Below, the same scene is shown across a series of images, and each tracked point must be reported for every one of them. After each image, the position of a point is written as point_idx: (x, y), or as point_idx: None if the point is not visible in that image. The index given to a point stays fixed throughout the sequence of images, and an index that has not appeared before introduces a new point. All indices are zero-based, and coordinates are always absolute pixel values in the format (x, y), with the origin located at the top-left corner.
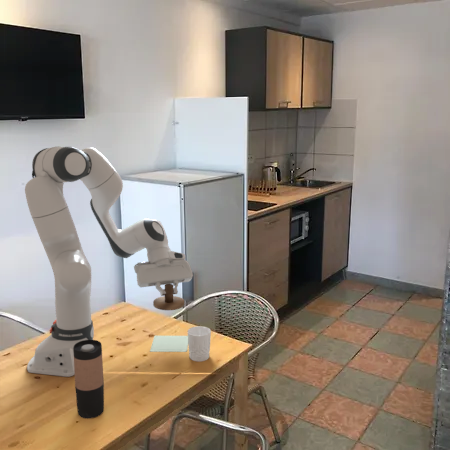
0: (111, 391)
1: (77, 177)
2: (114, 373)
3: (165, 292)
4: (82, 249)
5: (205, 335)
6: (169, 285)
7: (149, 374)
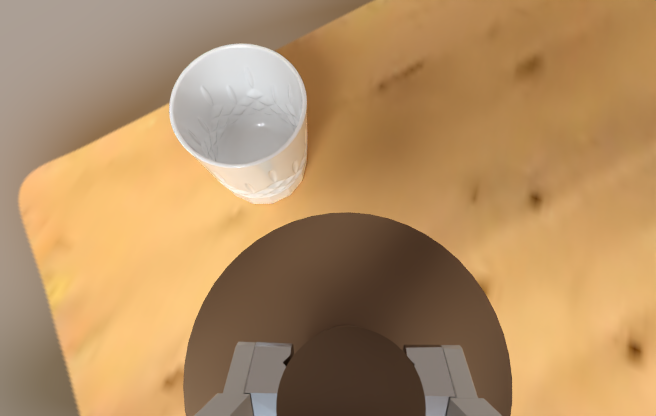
0: (651, 69)
1: None
2: (632, 186)
3: (411, 352)
4: None
5: (231, 45)
6: (346, 391)
7: (497, 123)
